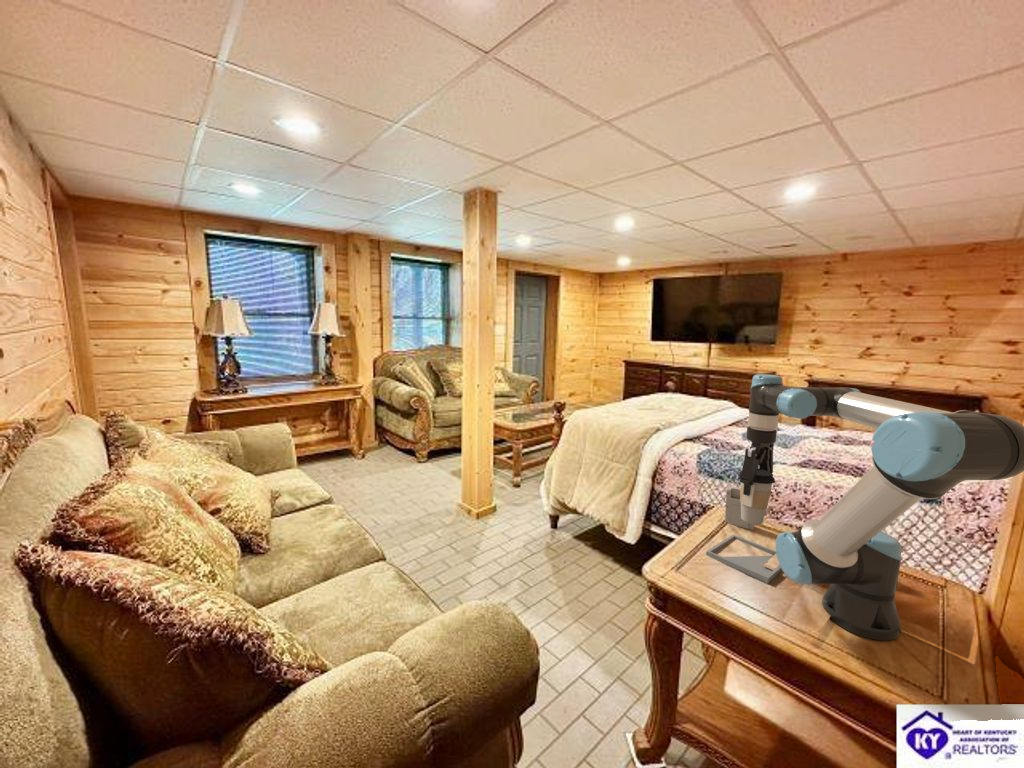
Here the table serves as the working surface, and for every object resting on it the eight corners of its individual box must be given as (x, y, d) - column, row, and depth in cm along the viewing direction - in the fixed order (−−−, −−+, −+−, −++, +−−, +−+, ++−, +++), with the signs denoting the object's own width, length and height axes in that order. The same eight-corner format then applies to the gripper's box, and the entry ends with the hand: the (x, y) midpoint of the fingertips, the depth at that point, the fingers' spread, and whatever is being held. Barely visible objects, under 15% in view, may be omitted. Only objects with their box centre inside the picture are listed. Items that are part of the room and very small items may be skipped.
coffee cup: (760, 514, 134) (766, 468, 132) (776, 528, 124) (782, 478, 122) (729, 512, 134) (733, 465, 133) (742, 525, 125) (747, 475, 123)
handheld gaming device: (752, 534, 147) (754, 528, 150) (755, 495, 144) (756, 490, 147) (724, 527, 153) (726, 522, 156) (726, 489, 149) (728, 484, 152)
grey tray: (792, 563, 130) (792, 557, 130) (767, 584, 119) (768, 578, 119) (732, 539, 143) (733, 534, 143) (705, 556, 133) (706, 551, 132)
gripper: (764, 420, 135) (757, 488, 138) (731, 430, 122) (724, 505, 125) (791, 425, 129) (783, 496, 133) (759, 436, 116) (751, 515, 119)
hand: (754, 500), depth 129 cm, fingers closed on coffee cup, 9 cm apart
